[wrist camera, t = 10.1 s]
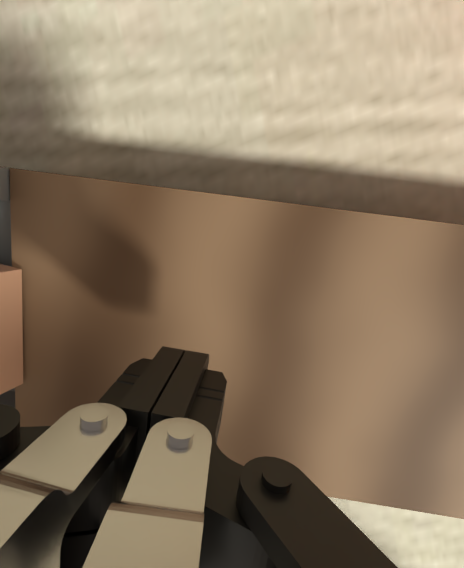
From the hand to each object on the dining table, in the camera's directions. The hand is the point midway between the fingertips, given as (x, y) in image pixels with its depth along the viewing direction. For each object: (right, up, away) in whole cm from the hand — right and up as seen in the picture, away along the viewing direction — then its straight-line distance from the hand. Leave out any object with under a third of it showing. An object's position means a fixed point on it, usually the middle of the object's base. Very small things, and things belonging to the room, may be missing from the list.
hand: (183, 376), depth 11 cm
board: (+4, 0, +5) cm, 7 cm away
